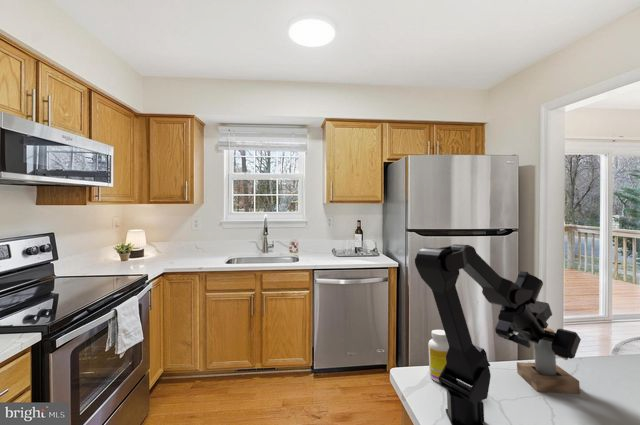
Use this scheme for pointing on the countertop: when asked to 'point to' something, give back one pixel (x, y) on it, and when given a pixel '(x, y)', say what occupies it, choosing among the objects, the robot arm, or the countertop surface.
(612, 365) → the countertop surface
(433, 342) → the supplement bottle
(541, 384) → the brown square frame
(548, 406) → the countertop surface
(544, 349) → the plug
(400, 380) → the countertop surface
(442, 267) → the robot arm
